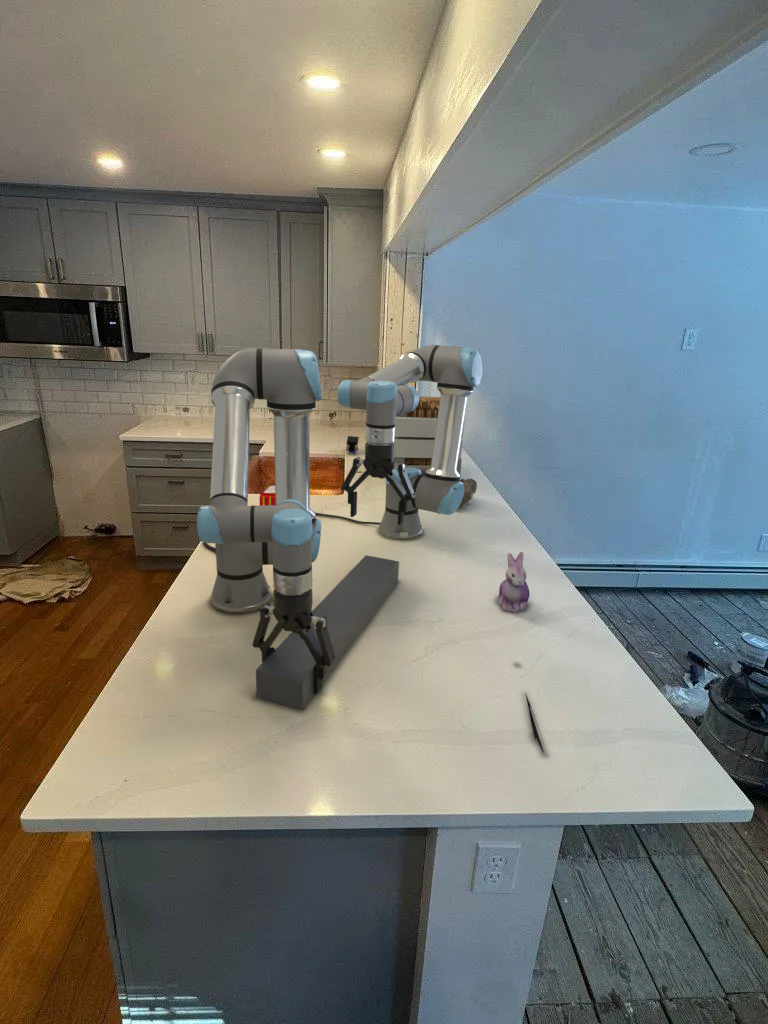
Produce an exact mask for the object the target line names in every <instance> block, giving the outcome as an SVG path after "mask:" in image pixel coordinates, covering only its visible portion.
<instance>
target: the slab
mask: <svg viewBox="0 0 768 1024" xmlns="http://www.w3.org/2000/svg"><path fill="white" fill-rule="evenodd" d="M399 572H400V561H399V560H393V559H388V558H383V557H377V556H372V555H366V554H365V556H363V557H362V559H361V560H360V561H358V563H357V564H356V565H355V566H354V567H353V568H352V569H351V570H350V571H349V572H348V573H347V574H346V575H345V576H344V577H343V578H342V579H341V580H340V582H338V583H337V585H335V587H333V589H332V590H330V591H329V593H327V595H326V596H325V597H324V598H323V599H322V600H321V601H320V602H319V603H318V604H317V605H316V606H315V607H314V608H313V609H312V613H313V615H314V616H316V617H320V618H321V617H322V616H326V617H327V629H328V632H329V636H330V639H331V642H332V646H333V649H334V652H335V656H336V659H335V661H334V662H333V663H332V664H331V666H327V674H326V676H325V677H324V679H323V683H324V682H325V681H326V679H327V678H328V677H329V676H330V674H331V673H332V672H333V670H334V669H335V668H336V666H337V665H338V663H339V662H340V661H341V659H342V658H343V656H344V655H345V654H346V653H347V651H348V650H349V648H350V647H352V645H353V643H354V642H355V641H356V639H357V638H358V636H359V635H360V634H361V633H362V631H363V630H364V628H366V626H367V624H369V621H370V620H371V619H372V618H373V617H374V615H375V613H376V612H377V611H378V609H379V608H380V607H381V605H382V604H383V603H384V601H385V600H386V599H387V598H388V596H389V595H390V593H391V592H392V591H393V589H394V588H395V586H396V585H397V584H398V583H399ZM311 625H312V627H313V632H314V634H315V636H316V637H317V634H316V629H314V624H313V623H312V622H311ZM305 630H306V628H305V629H304V631H305ZM317 639H318V637H317ZM318 641H319V640H318ZM315 664H316V661H315V660H314V658H313V656H312V654H311V652H310V651H309V649H308V647H307V645H306V643H305V642H304V640H303V639H301V638H300V636H299V634H297V633H294V632H292V631H291V632H290V633H289V634H288V635H287V637H286V638H285V639H284V640H283V641H282V642H281V643H280V644H279V645H278V646H277V647H276V648H275V650H274V651H273V652H272V653H271V654H270V656H269V657H268V658H267V659H266V660H265V661H264V662H263V663H262V662H261V664H259V666H258V667H257V668H255V680H256V681H255V685H256V689H255V690H256V698H258V699H262V700H265V701H269V702H273V703H276V704H279V705H283V706H287V707H290V708H294V709H297V710H301V711H303V710H304V709H305V708H306V707H307V705H308V704H309V702H310V701H311V700H312V699H313V697H314V696H315V694H314V665H315Z"/></svg>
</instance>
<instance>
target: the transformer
mask: <svg viewBox="0 0 768 1024" xmlns="http://www.w3.org/2000/svg"><path fill="white" fill-rule="evenodd" d="M439 403H440V396H419V403H418V406H417V407H416V408H415V409H414V410H413V411H411V412H409V413H408V414H402V415H399V416H396V419H395V440H394V442H393V444H394V458H393V461H394V463H395V464H401V463H405V466H406V467H409V466H411V467H417V466H418V467H431V461H432V453H433V446H434V439H435V432H436V425H437V417H438V410H439ZM464 429H465V419H464V422H463V428H462V435H461V442H460V449H459V455H458V462H457V469H456V470H457V472H458V473H459V475H460V476H461V472H462V461H463V460H462V453H463V442H464V441H463V440H462V439H463V438H464V431H465V430H464ZM394 469H395V468H394Z"/></svg>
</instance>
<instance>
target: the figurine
mask: <svg viewBox="0 0 768 1024" xmlns="http://www.w3.org/2000/svg"><path fill="white" fill-rule="evenodd" d="M506 556H507V569H506V571H505V579H504V580H502V581H501V583H500V585H499V591H498V592H499V593H498V597H497V598H498V600H497V601H498V604H499V605H500V606H501V607H502V609H503V610H505V611H507V612H508V611H509V612H518V611H520V610H521V611H522V610H524V609H525V608H526V607H527V605H528V601H529V599H530V588H529V585H528V584H527V581H526V580H527V571H526V570H525V567H524V552H523V551H520V552H519V553H518V555H517V557H516V559H515V557H514V556H513V554H512V553H511V552H508V553H507V555H506Z"/></svg>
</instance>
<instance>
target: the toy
mask: <svg viewBox="0 0 768 1024" xmlns="http://www.w3.org/2000/svg"><path fill="white" fill-rule="evenodd" d="M267 505H276V500H275V485H270V486H268V488H267V489H265V490H264V492H259V506H267Z"/></svg>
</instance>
